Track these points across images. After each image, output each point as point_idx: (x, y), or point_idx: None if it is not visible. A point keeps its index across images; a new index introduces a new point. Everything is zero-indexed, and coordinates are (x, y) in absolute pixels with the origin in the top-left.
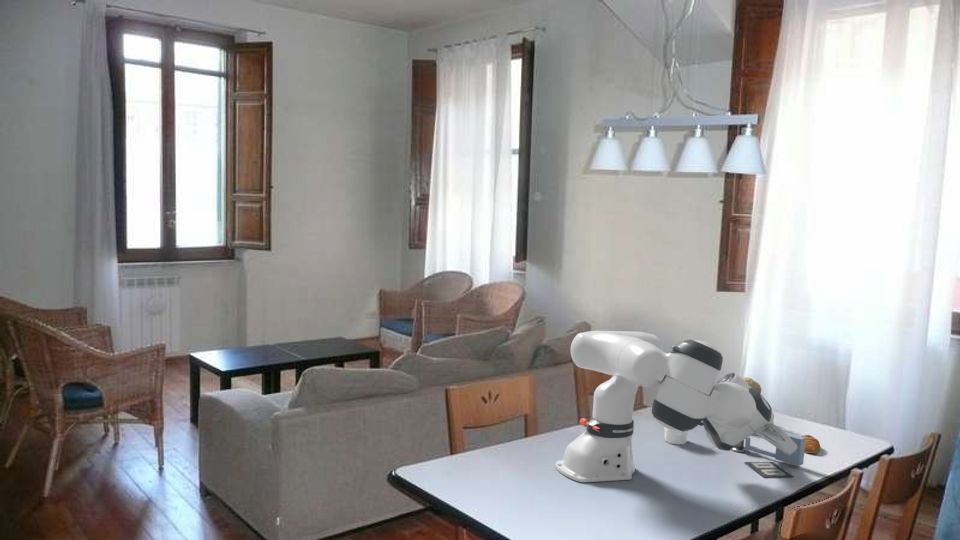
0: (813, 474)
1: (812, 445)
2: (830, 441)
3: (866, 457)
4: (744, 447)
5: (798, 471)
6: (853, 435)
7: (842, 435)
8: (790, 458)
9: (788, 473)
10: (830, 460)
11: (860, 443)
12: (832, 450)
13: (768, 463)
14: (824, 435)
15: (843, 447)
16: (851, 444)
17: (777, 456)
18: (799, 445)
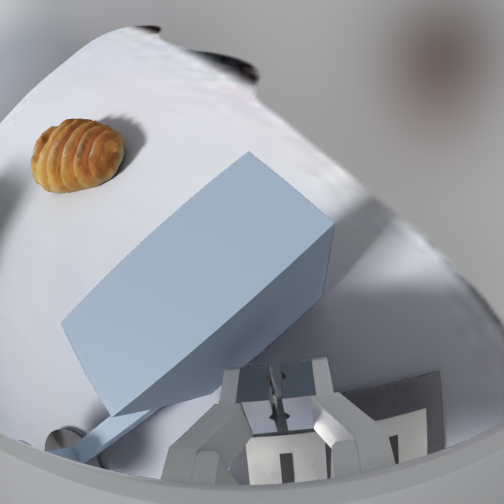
0: (376, 244)
1: (96, 142)
2: (62, 102)
3: (173, 45)
4: (58, 436)
5: (346, 310)
6: (59, 67)
7: (51, 82)
8: (278, 330)
9: (401, 387)
10: (186, 118)
11: (94, 55)
12: (109, 102)
13: (259, 449)
14: (35, 111)
15: (100, 80)
16: (92, 67)
17: (214, 387)
18: (322, 259)
